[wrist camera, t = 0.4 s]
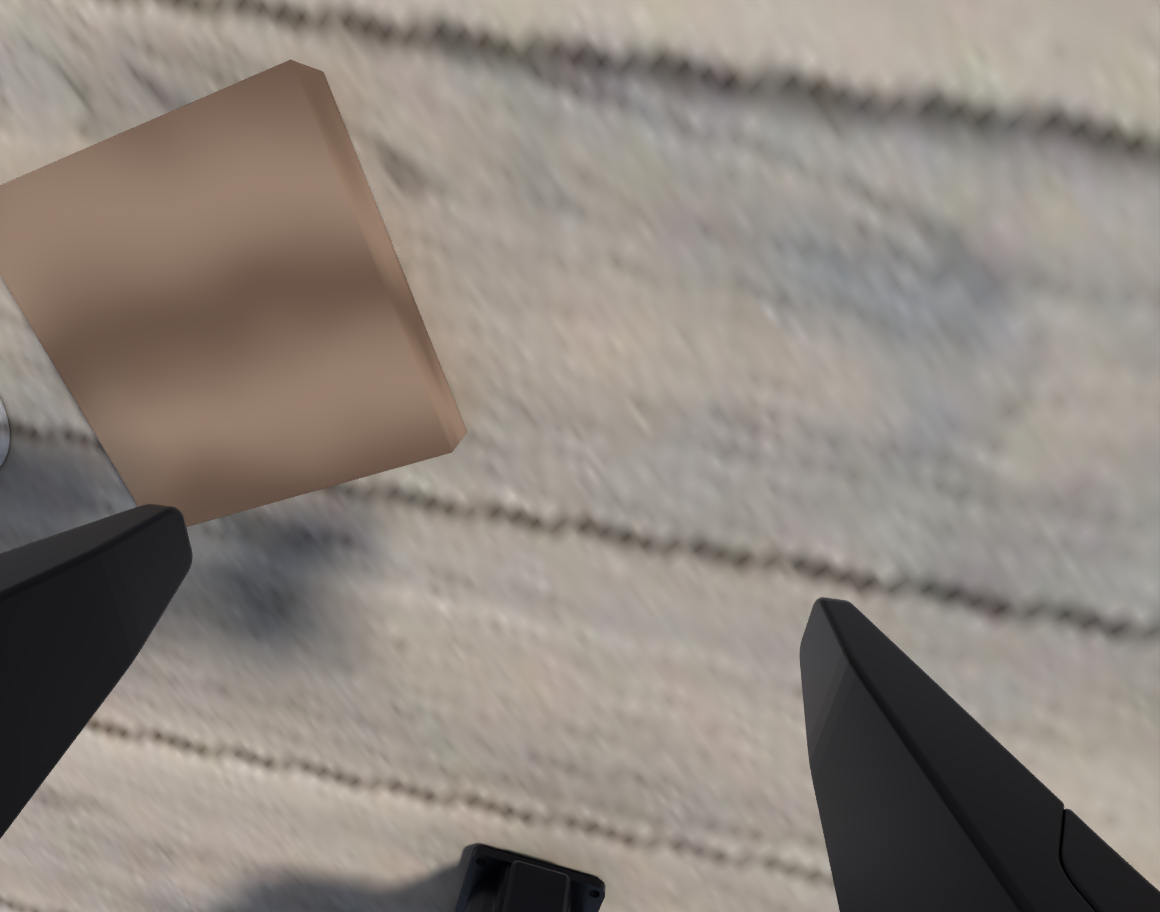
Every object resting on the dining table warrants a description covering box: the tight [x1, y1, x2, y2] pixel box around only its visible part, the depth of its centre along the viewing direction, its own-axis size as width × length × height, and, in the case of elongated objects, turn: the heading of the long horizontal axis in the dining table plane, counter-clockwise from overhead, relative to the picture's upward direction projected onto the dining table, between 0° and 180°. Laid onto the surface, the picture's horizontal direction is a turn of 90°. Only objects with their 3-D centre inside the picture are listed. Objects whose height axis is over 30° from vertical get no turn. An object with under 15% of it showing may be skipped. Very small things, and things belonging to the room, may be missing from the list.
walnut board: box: [0, 60, 467, 527], centre depth 22 cm, size 12×12×2 cm
